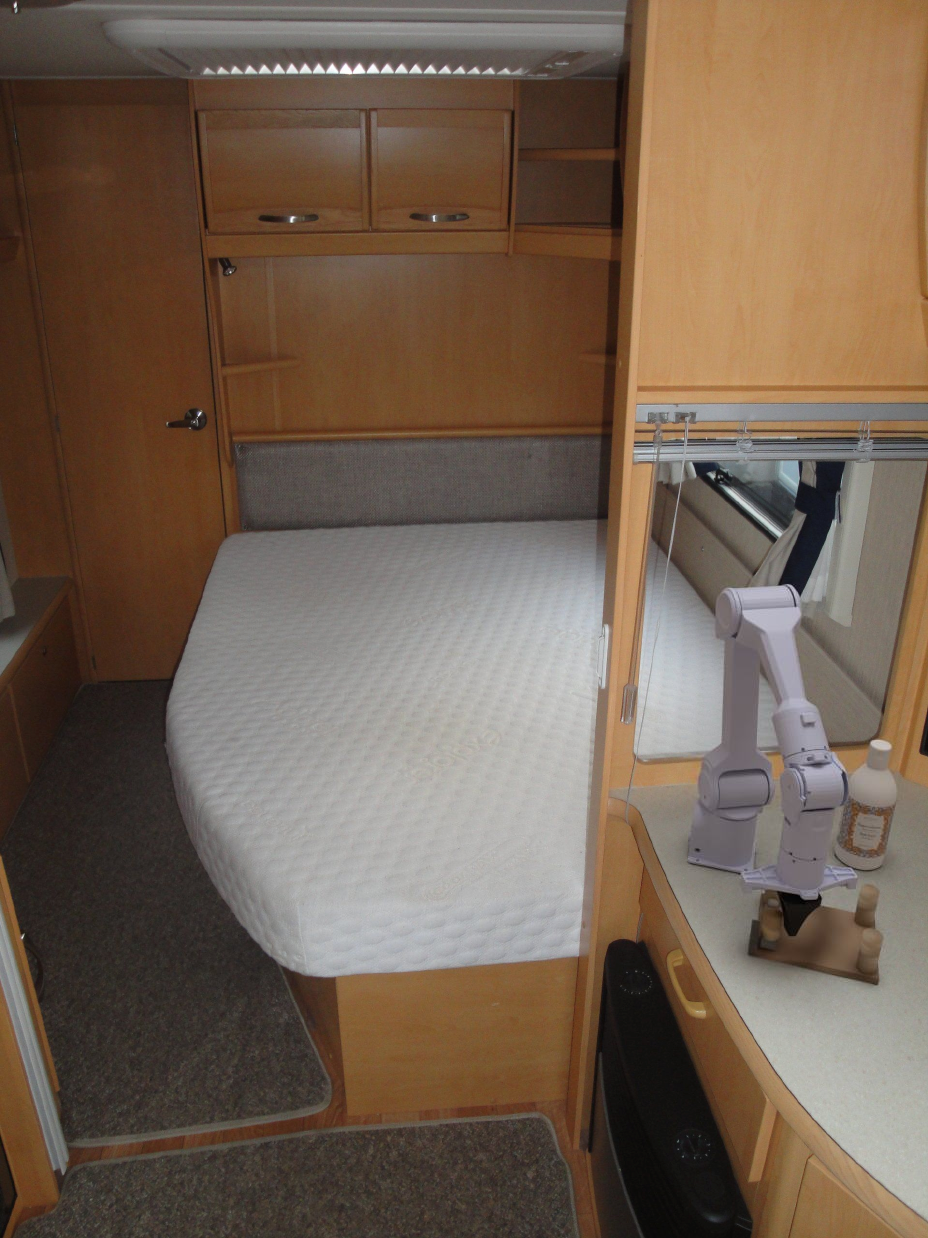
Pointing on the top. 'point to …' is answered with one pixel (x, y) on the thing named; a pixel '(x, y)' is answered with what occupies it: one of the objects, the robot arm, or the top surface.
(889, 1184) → the top surface
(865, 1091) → the top surface
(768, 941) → the grey bar with knob
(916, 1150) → the top surface
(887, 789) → the bath foam
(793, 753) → the robot arm
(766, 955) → the stool board
